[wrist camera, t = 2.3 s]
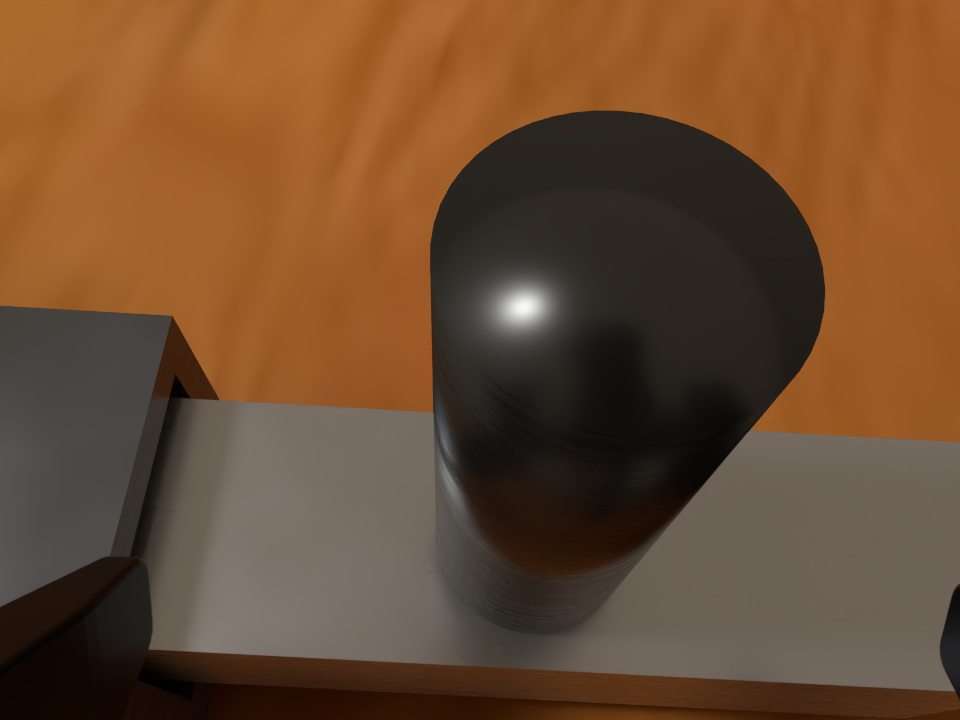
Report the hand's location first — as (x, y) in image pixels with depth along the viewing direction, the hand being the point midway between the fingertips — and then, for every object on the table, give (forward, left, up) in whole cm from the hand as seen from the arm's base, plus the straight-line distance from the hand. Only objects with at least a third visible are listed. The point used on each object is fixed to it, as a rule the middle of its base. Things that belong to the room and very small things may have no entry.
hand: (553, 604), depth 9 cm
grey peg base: (+4, +3, -7) cm, 9 cm away
